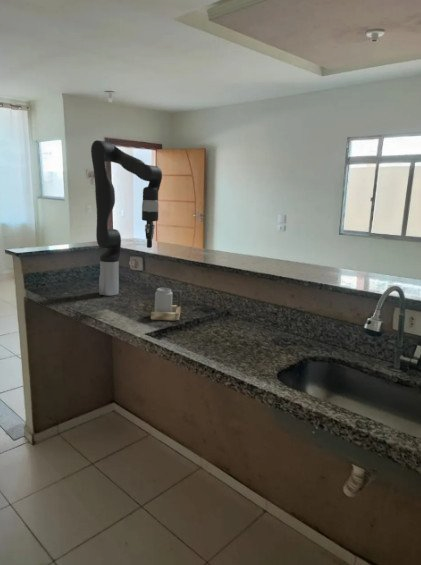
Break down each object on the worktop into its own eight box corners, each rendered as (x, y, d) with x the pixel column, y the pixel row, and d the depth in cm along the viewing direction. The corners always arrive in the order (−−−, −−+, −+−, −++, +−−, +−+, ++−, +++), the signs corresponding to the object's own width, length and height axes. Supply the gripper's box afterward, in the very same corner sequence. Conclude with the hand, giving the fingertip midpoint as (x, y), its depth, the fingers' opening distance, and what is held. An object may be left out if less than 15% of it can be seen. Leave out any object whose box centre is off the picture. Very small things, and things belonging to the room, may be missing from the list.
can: (175, 315, 178) (176, 288, 176) (165, 319, 172) (166, 291, 169) (161, 312, 182) (161, 286, 179) (151, 315, 175) (151, 289, 173)
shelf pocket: (150, 319, 170) (151, 296, 168) (154, 310, 183) (155, 289, 181) (178, 320, 171) (179, 297, 168) (180, 311, 183) (181, 290, 181)
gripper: (144, 209, 192) (143, 245, 196) (139, 210, 179) (139, 249, 183) (160, 210, 192) (159, 246, 196) (156, 211, 179) (155, 249, 183)
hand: (149, 247), depth 189 cm, fingers closed
